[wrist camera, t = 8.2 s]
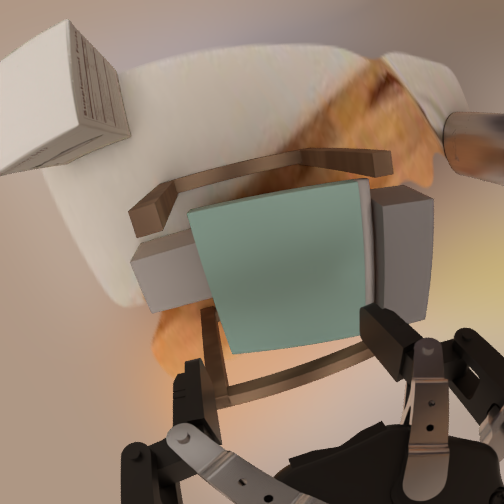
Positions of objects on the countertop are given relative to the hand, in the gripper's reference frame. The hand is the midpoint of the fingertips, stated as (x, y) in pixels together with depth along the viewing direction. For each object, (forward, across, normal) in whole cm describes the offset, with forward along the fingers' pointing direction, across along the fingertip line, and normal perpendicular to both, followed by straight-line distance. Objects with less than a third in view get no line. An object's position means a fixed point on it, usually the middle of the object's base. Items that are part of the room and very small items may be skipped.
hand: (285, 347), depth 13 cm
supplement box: (+16, +10, -16) cm, 25 cm away
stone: (+14, +3, 0) cm, 14 cm away
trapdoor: (+8, -5, 0) cm, 10 cm away
